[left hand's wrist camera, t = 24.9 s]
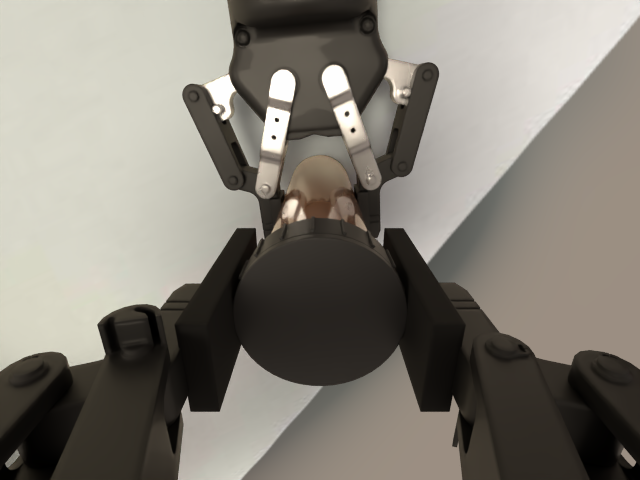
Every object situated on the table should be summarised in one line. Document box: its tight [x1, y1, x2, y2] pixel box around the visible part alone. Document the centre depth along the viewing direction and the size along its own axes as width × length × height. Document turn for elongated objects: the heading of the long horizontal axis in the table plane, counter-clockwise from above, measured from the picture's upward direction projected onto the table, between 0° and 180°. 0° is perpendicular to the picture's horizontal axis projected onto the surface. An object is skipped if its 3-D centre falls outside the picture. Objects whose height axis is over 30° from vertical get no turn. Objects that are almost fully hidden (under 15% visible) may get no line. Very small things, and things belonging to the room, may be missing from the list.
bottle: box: [271, 155, 368, 233], centre depth 19 cm, size 4×4×17 cm
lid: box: [233, 216, 408, 386], centre depth 11 cm, size 5×6×2 cm
